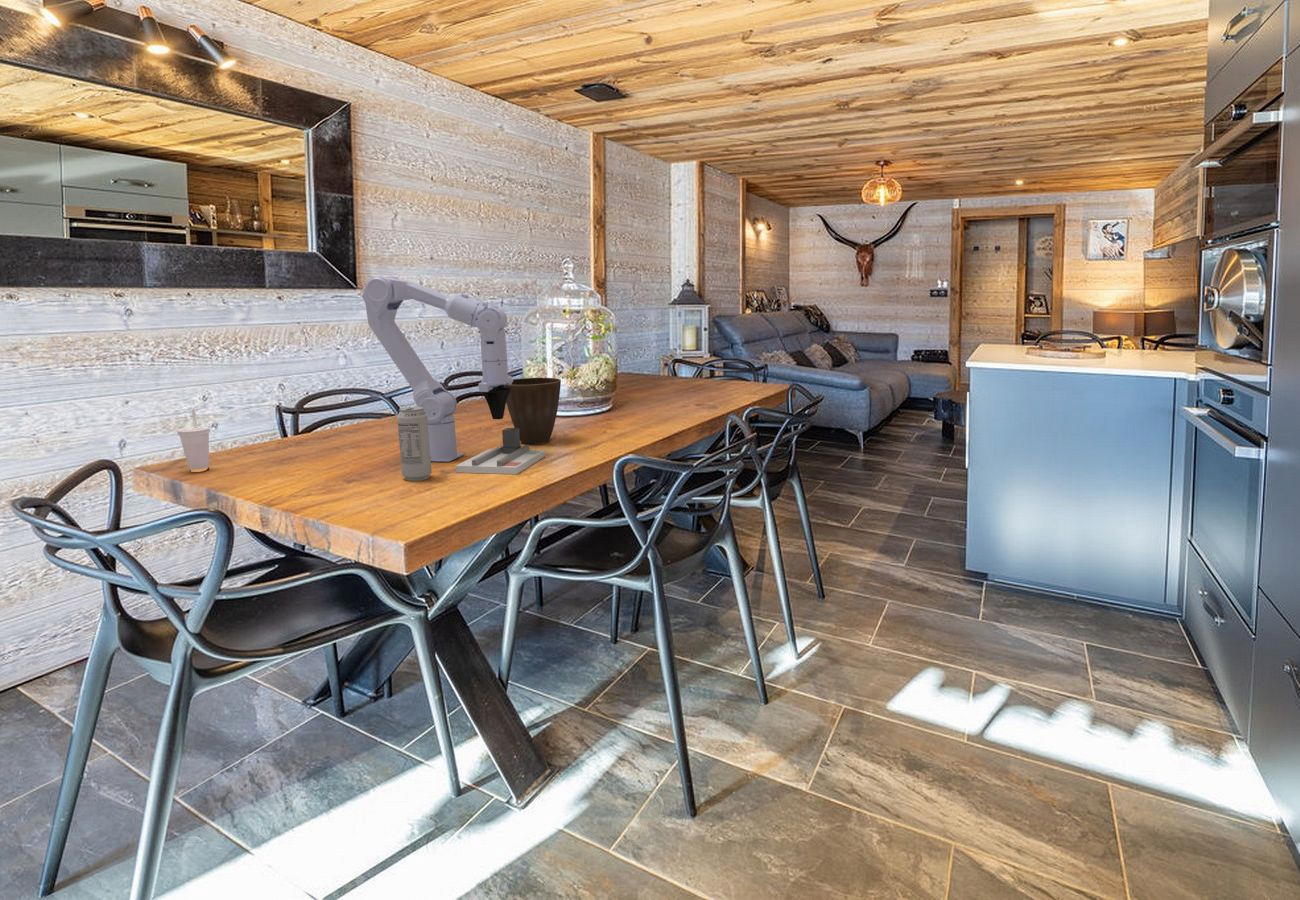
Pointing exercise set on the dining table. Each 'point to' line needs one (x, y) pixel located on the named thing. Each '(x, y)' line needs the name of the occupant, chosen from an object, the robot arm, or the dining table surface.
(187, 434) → the smoothie
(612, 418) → the dining table surface
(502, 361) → the robot arm
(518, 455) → the slider rail board
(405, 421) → the energy drink can
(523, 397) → the plant pot
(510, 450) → the lever
